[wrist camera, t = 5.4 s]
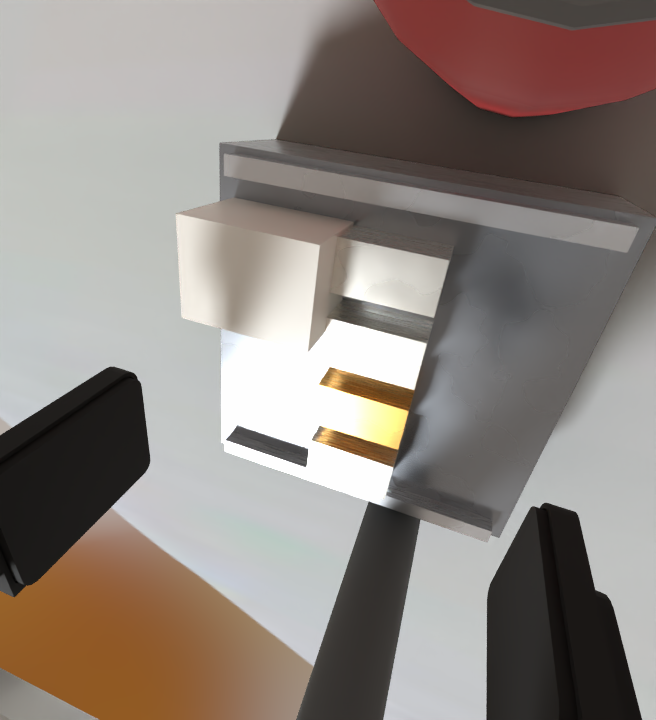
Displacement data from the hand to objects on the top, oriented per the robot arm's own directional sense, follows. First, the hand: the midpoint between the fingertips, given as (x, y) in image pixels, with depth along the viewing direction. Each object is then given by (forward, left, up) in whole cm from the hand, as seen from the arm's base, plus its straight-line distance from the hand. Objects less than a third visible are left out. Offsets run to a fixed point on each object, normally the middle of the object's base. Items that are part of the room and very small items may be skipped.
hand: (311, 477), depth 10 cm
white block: (+3, -3, -6) cm, 7 cm away
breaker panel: (0, 0, -10) cm, 10 cm away
